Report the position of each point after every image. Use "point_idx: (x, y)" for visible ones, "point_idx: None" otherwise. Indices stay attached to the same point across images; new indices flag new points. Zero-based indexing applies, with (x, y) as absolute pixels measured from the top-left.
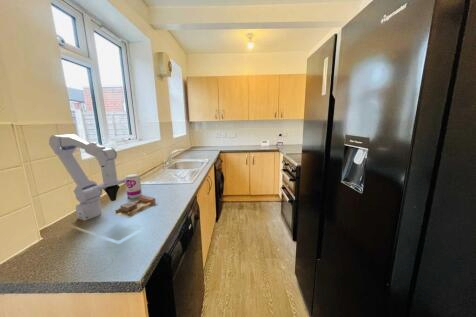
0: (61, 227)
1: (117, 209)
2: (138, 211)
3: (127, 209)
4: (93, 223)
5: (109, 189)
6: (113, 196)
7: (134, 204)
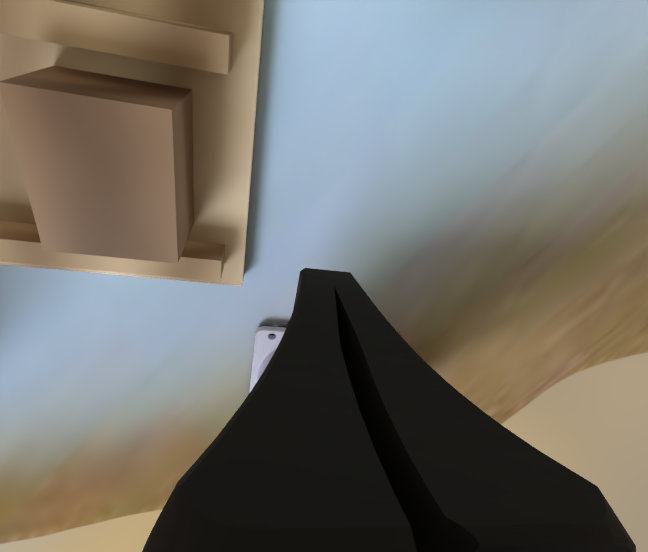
0: None
1: (204, 268)
2: (73, 1)
3: (180, 120)
4: (403, 286)
5: (634, 549)
6: (373, 322)
7: (35, 102)
